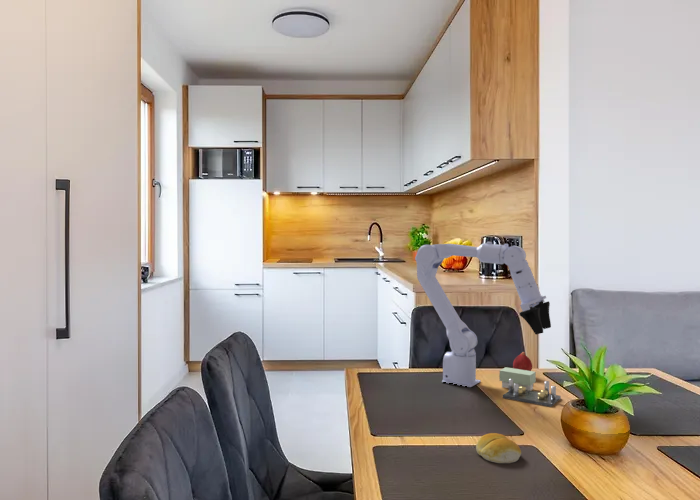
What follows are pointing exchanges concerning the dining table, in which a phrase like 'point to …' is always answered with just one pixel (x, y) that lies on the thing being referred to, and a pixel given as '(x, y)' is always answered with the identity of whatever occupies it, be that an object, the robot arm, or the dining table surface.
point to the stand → (506, 385)
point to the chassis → (532, 394)
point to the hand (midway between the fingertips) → (543, 330)
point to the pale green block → (517, 376)
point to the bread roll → (498, 448)
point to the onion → (522, 362)
